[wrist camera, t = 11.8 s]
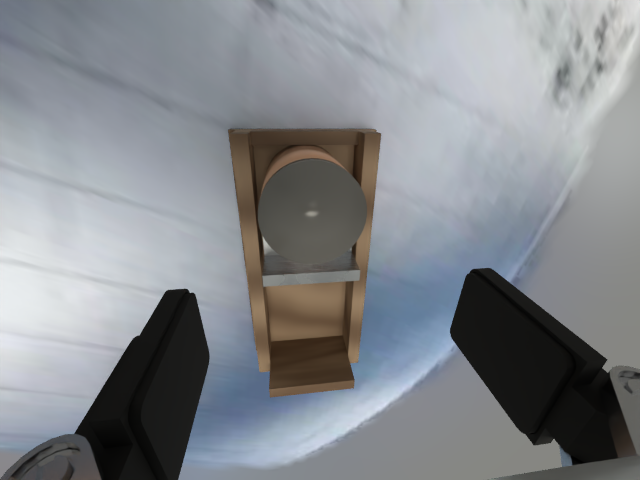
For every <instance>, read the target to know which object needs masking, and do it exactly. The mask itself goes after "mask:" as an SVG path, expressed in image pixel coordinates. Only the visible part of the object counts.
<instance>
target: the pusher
mask: <svg viewBox="0 0 640 480" xmlns="http://www.w3.org/2000/svg"><path fill="white" fill-rule="evenodd" d="M263 244H264V255H265V256H264V265H263V274H262V278H263V287H267V286H282V285H298V284H313V283H329V282H344V281H359V279H360V268H359V266H358V264H357V262H356V260H355V258H354V256H353V254H352V251H351V250H352V247H351V248H350V249H349V250H348V251H347V252H345V253H344V254H343V255H341V256H339V257H337V258H335V259H333V260H331V261H328V262H324V263H319V264H301V263H297V262H293V261H290V260H288V259H286V258H284V257H282V256H280V255H279V254H277V253H276V252H275V251H274V250H273V249H272V248H271V247H270V246H269V245H268V244H267V242H266V241H265V239H264V237H263Z"/></svg>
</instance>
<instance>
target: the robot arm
mask: <svg viewBox="0 0 640 480" xmlns="http://www.w3.org/2000/svg"><path fill="white" fill-rule="evenodd" d="M450 334H451V337H452V339H453V341H454V342H455V343H456V345H457V346H458V348H459V349H460V350H461V352H462V353H463V354H464V356H465V357H466V359H467V360H468V361H469V363H470V364H471V365H472V367H473V368H474V369H475V371H476V372H477V373H478V375H479V376H480V378H481V379H482V380H483V382H484V383H485V385H486V386H487V387H488V388H489V390H490V391H491V393H492V394H493V395H494V397H495V398H496V400H497V401H498V402H499V404H500V405H501V406H502V408H503V409H504V410H505V412H506V413H507V414H508V416H509V417H510V419H511V420H512V421H513V423H514V424H515V426H516V427H517V428H518V429H519V430H520V431H521V432H522V433H524V434H526V435H527V437H528V438H529V439H530V441H531V442H532V443H533V445H540V444H546V443H551V442H552V440H553V439H555V440H556V442H557V443H558V444H559V445H560V454H561V462H562V467H560V468H555V469H548V470H542V471H537V472H530V473H524V474H518V475H512V476H506V477H500V478H494V479H488V480H640V369H637V368H633V367H629V366H616V367H612V369H611V370H610V371H609V373H607V372H606V371H605V370H604V369H602V367H603V365H604V364H605V362H606V361H607V359H606V358H605V357H603V356H602V355H601V354H599V353H598V352H597V351H596V350H594V349H593V348H592V347H591V346H589V345H588V344H587V343H586V342H584V341H583V340H582V339H580V338H579V337H578V336H576V335H575V334H574V333H573V332H571V331H570V330H569V329H568V328H566V327H565V326H564V325H563V324H561V323H560V322H559V321H558V320H556V319H555V318H554V317H552V316H551V315H550V314H549V313H547V312H546V311H545V310H544V309H542V308H541V307H540V306H538V305H537V304H536V303H535V302H533V301H532V300H531V299H529V298H528V297H527V296H526V295H524V294H523V293H522V292H521V291H519V290H518V289H517V288H516V287H514V286H513V285H512V284H510V283H509V282H508V281H507V280H505V279H504V278H503V277H502V276H500V275H499V274H498V273H496V272H495V271H494V270H492V269H491V268H482V269H473V270H471V271H470V273H469V274H467V275H466V278H465V281H464V284H463V288H462V291H461V294H460V298H459V301H458V305H457V308H456V311H455V315H454V318H453V321H452V325H451V328H450ZM208 365H209V350H208V346H207V341H206V337H205V333H204V329H203V325H202V320H201V316H200V312H199V308H198V304H197V299H196V296H195V294H194V293H189V291H188V289H176V290H167V291H166V292H165V294H164V295H163V297H162V299H161V300H160V302H159V304H158V305H157V307H156V309H155V310H154V312H153V314H152V315H151V317H150V319H149V321H148V322H147V324H146V326H145V327H144V329H143V331H142V332H141V334H140V336H136V337H135V338H134V339H133V340H132V341H131V342H130V344H129V345H128V347H127V349H126V350H125V352H124V354H123V355H122V357H121V359H120V360H119V362H118V363H117V365H116V367H115V368H114V370H113V372H112V373H111V375H110V376H109V378H108V380H107V381H106V383H105V385H104V386H103V388H102V389H101V391H100V393H99V394H98V396H97V398H96V399H95V401H94V403H93V404H92V406H91V407H90V409H89V411H88V412H87V414H86V416H85V417H84V419H83V420H82V422H81V424H80V425H79V427H78V429H77V430H76V432H75V433H74V434H66V435H62V436H59V437H56V438H52V439H50V440H48V441H46V442H44V443H42V444H40V445H38V446H37V447H35V448H34V449H32V450H31V451H29V452H28V453H27V454H25V455H24V456H22V457H21V458H20V459H19V460H18V461H17V462H16V463H15V464H14V465H13V466H11V467H10V468H9V469H8V470H7V471H6V472H5V474H4V475H3V476H2V477H1V479H0V480H178V478H179V474H180V471H181V467H182V463H183V459H184V456H185V452H186V448H187V444H188V440H189V437H190V433H191V429H192V425H193V422H194V418H195V414H196V410H197V407H198V403H199V399H200V395H201V391H202V388H203V384H204V380H205V376H206V373H207V369H208Z"/></svg>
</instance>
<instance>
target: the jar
mask: <svg viewBox="0 0 640 480" xmlns="http://www.w3.org/2000/svg"><path fill="white" fill-rule="evenodd" d="M366 217H367V204H366V199H365V195H364V193H363V191H362V188H361V187H360V185H359V183H358V182H357V181H356V180H355V178H354V177H353V176H352V175H351V174H350V173H349V172H348V171H347V170H346V169H345V168H344V167H343V166H342V165H341V164H340V163H339V162H338V161H337V160H336V159H335V158H334V157H333V156H332V155H331V154H330V153H329V152H328V151H326V150H325V149H324V148H322V147H320V146H317V145H290V146H288V147H286V148H284V149H282V150H281V151H280V152H278V153H277V154H276V155H275V156H274V157H273V159H272V160H271V162H270V163H269V165H268V168H267V170H266V174H265V179H264V183H263V188H262V192H261V197H260V201H259V205H258V223H259V228H260V231H261V233H262V235H263V237H264V239H265V241H266V242H267V244H268V245H269V246H270V247H271V248H272V249H273V250H274V251H275V252H276V253H277V254H279V255H280V256H282V257H284V258H286V259H288V260H290V261H293V262H297V263H301V264H319V263H324V262H328V261H331V260H333V259H335V258H337V257H339V256H341V255H343V254H344V253H345V252H347V251H348V250H349V249H350V248H351V247H352V246H353V245H354V244H355V243H356V241H357V240H358V239H359V237H360V235H361V234H362V231H363V229H364V226H365V223H366Z"/></svg>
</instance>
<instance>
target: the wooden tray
mask: <svg viewBox="0 0 640 480" xmlns="http://www.w3.org/2000/svg"><path fill="white" fill-rule="evenodd" d="M228 133H229V141H230V148H231V156H232V164H233V172H234V180H235V187H236V195H237V203H238V211H239V219H240V227H241V234H242V242H243V250H244V258H245V266H246V273H247V281H248V289H249V297H250V305H251V312H252V320H253V328H254V336H255V344H256V350H257V354H258V362H259V370H260V372H267V371H270V383H269V392H270V397H278V396H287V395H296V394H305V393H314V392H323V391H332V390H341V389H350V388H354V376H353V373H352V369H351V365H350V363H357V362H358V357H359V347H360V337H361V327H362V317H363V308H364V298H365V288H366V278H367V268H368V258H369V248H370V238H371V229H372V219H373V209H374V199H375V189H376V179H377V169H378V159H379V149H380V140H381V133H378V132H376V130H375V129H229V130H228ZM290 145H317V146H320V147H322V148H324V149H325V150H326V151H328V152H329V153H330V154H331V155H332V156H333V157H334V158H335V159H336V160H337V161H338V162H339V163H340V164H341V165H342V166H343V167H344V168H345V169H346V170H347V171H348V172H349V173H350V174H351V175H352V176H353V177H354V178H355V180H356V181H357V182H358V183H359V185H360V187H361V188H362V191H363V193H364V195H365V199H366V204H367V217H366V223H365V226H364V229H363V231H362V234H361V235H360V237H359V239H358V240H357V241H356V243H355V244H354V245H353V246H352V250H351V251H352V254H353V256H354V258H355V260H356V262H357V264H358V266H359V268H360V279H359V281H344V282H329V283H313V284H298V285H282V286H267V287H263V278H262V274H263V265H264V256H265V255H264V244H263V235H262V233H261V231H260V228H259V223H258V205H259V201H260V197H261V192H262V188H263V183H264V179H265V174H266V170H267V168H268V165H269V163H270V162H271V160H272V159H273V157H274V156H275V155H276V154H277V153H278V152H280V151H281V150H282V149H284V148H286V147H288V146H290Z"/></svg>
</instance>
